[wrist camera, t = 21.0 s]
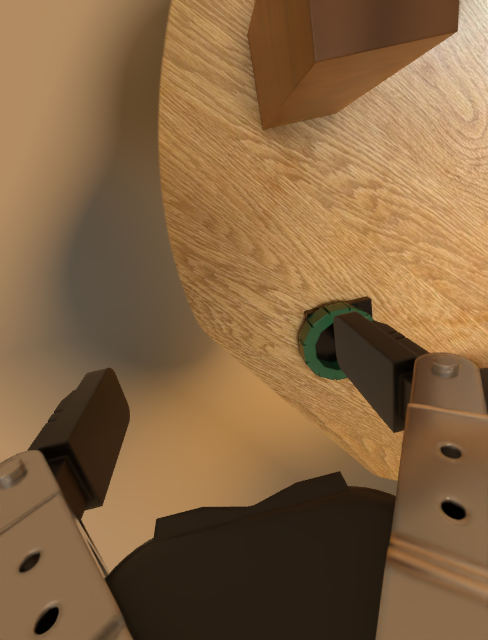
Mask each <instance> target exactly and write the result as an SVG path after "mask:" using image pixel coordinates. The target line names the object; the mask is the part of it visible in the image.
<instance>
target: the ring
mask: <svg viewBox="0 0 488 640" xmlns="http://www.w3.org/2000/svg"><path fill="white" fill-rule="evenodd" d="M354 311H357V312H358V313H360V314H361V315H363V316H364V317H365V318H367V319H368V320H370V321H374V320H373V318H372V317H371V316H370V314H368V313H367V312H366V311H364V310H363V309H361V308H360V307H358V306H354V305H351V304H348V303H345V302H343V303H342V302H340V303H335V304H331V305H326V306H324V309H323V308H322V307H321V308H320V309H318V310H317V311H316V312H315V313H314V314H312V315H311V316H310V317H309V318H307V320H308V321H305V323H304V326H303V328H302V330H301V333H300V335H299V346H300V354H301V356H302V358H303V360H304V361H305V363H306V364H307V365H308V367H309V368H310V369H311V370H312V371H313V372H314V373H315V374H316V375H318V376H319V377H323V378H327V379H331V380H335V379H336V380H340V379H345V378H348V377H347V376H346V375H345V374H344V372H343V371H342V370H341V368H340V366H339V363H338V361H334V362H329V361H325V360H321V359H319V358H318V357H317V356H316V348H315V345H316V342H317V340H318V338H319V336H320V334H321V332H322V331H323V330H325V329H326V328H327V327H328V326H330V325H331V324H332V323H334V317H335V316H337V315H341V314H345V313H350V312H354Z"/></svg>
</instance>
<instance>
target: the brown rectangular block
mask: <svg viewBox="0 0 488 640" xmlns="http://www.w3.org/2000/svg"><path fill="white" fill-rule="evenodd" d="M458 15H459V0H256V1H255V5H254V9H253V13H252V17H251V22H250V26H249V30H248V34H247V35H248V41H249V48H250V54H251V60H252V66H253V73H254V79H255V85H256V91H257V98H258V104H259V110H260V116H261V123H262V129H267V128H272V127H276V126H281V125H285V124H290V123H294V122H299V121H303V120H308V119H312V118H317V117H321V116H326V115H330V114H335V113H337V112H338V111H340V110H341V109H343V108H344V107H346V106H347V105H349V104H350V103H352V102H353V101H355V100H356V99H358V98H359V97H361V96H362V95H364V94H365V93H367V92H368V91H370V90H371V89H373V88H374V87H375V86H377V85H378V84H380V83H381V82H383V81H384V80H386V79H387V78H389V77H390V76H392V75H393V74H395V73H396V72H398V71H399V70H401V69H402V68H404V67H405V66H407V65H408V64H410V63H411V62H413V61H414V60H416V59H417V58H419V57H420V56H422V55H423V54H424V53H426V52H427V51H429V50H430V49H432V48H433V47H435V46H436V45H438V44H439V43H441V42H442V41H444V40H445V39H447V38H448V37H450V36H451V35H453V34H454V33H456V32H457V31H458Z"/></svg>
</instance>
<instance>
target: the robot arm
mask: <svg viewBox="0 0 488 640" xmlns="http://www.w3.org/2000/svg"><path fill="white" fill-rule="evenodd" d="M334 334H335V346H336V356H337V360H338V363H339V366H340V368H341V370H342V371H343V372H344V374H345V375H346V376H347V377H348V378H349V380H350V381H351V382H352V383H353V384H354V386H355V387H356V388H357V389H358V391H359V392H360V393H361V394H362V395H363V397H364V398H365V399H366V400H367V401H368V403H369V404H370V405H371V406H372V407H373V409H374V410H375V411H376V412H377V413H378V415H379V416H380V417H381V418H382V419H383V421H384V422H385V423H386V424H387V425H388V427H389V428H390V429H391V430H392V431H393V433H395V432H399V431H403V430H404V435H403V443H402V451H401V459H400V467H399V476H398V484H397V492H396V496H394V495H392V494H389V493H386V492H383V491H380V490H376V489H371V488H366V487H357V486H356V487H355V486H347V484H346V482H345V480H344V478H343V476H342V474H341V473H340V471H339V472H335V473H332V474H328V475H324V476H320V477H317V478H313V479H308V480H305V481H301V482H297V483H295V484H293V485H291V486H289V487H287V488H285V489H283V490H282V491H280V492H278V493H276V494H274V495H272V496H271V497H269V498H267V499H265V500H263V501H261V502H259V503H257V504H255V505H253V506H248V507H201V508H197V509H193V510H189V511H185V512H181V513H177V514H174V515H170V516H166V517H162V518H158V519H156V526H155V532H154V538H152V539H150V540H148V541H147V542H146V543H144V544H143V545H141V546H139V547H138V548H136V549H135V550H134V551H133V552H132V553H130V554H129V555H128V556H127V557H125V558H124V559H123V560H122V561H121V562H120V563H119V564H118V565H117V566H116V567H115V568H114V569H113V570H112V571H111V572H109V570H108V569H107V566H106V565H105V563H104V561H103V559H102V557H101V555H100V553H99V551H98V550H97V548H96V546H95V544H94V542H93V540H92V538H91V537H90V534H89V533H88V531H87V529H86V527H85V525H84V524H83V522H82V520H81V518H82V516H83V513H84V511H85V510H88V509H93V508H96V507H100V506H102V505H103V502H104V499H105V496H106V493H107V490H108V487H109V484H110V480H111V477H112V474H113V471H114V468H115V465H116V462H117V459H118V455H119V452H120V449H121V446H122V443H123V440H124V436H125V433H126V430H127V427H128V424H129V420H130V411H129V406H128V403H127V401H126V398H125V396H124V393H123V391H122V389H121V386H120V384H119V381H118V379H117V376H116V375H115V372H114V371H113V369H111V368H106V369H102V370H98V371H93V372H89V373H87V374H86V375H85V377H84V378H83V380H82V382H81V383H80V385H79V386H78V388H77V389H76V390H74V391H73V392H71V393H70V394H69V395H68V396H67V397H66V398H65V399H63V400H62V401H61V402H60V404H59V405H58V407H57V408H56V410H55V411H54V414H52V415H51V417H50V418H49V420H48V423H46V424H45V426H44V427H43V428H42V430H41V431H40V433H39V435H38V436H37V437H36V439H35V440H34V442H33V443H32V444H31V446H30V448H29V449H28V450H27V451H25V452H21V453H19V454H16V455H14V456H12V457H10V458H8V459H6V460H5V461H3V462H1V463H0V640H488V368H484V369H479V367H478V366H477V365H476V364H475V363H474V362H473V361H471V360H470V359H468V358H465V357H463V356H460V355H456V354H451V353H429V352H428V351H426V350H425V349H423V348H422V347H420V346H419V345H417V344H416V343H414V342H413V341H411V340H410V339H408V338H405V336H404V335H402V334H401V333H399V332H398V333H397V331H396V330H395V329H393V328H392V327H390V326H389V325H387V324H384V323H380V322H377V321H370V320H368V319H367V318H365V317H364V316H363V315H361V314H360V313H358V312H357V311H354V312H350V313H345V314H341V315H337V316H335V317H334Z"/></svg>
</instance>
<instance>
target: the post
mask: <svg viewBox="0 0 488 640" xmlns="http://www.w3.org/2000/svg"><path fill="white" fill-rule="evenodd" d="M342 303H343V302H342ZM345 303H348V304H351V305H354V306H358V307H360V308H361V309H363V310H364V311H366V312H367V313H368V314H370V316H371V317H372V305H371V299H370V298H369V297H363V298H359V299H354V300H350V301H346V302H345ZM322 308H323V309H324V307H322ZM318 309H320V308H317V309H312V310H308V311H304V314H305V321H308V320H307V318H309V317H310V316H311V315H312V314H314V313H315V312H316V311H317V310H318ZM315 348H316V356H317V357H318V358H319V359H321V360H325V361H329V362H334V361H338V360H337V356H336V346H335V334H334V323H332V324H331V325H330V326H328V327H327V328H326V329H325V330H323V331H322V332H321V334H320V336H319V338H318V340H317V342H316V345H315Z"/></svg>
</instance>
